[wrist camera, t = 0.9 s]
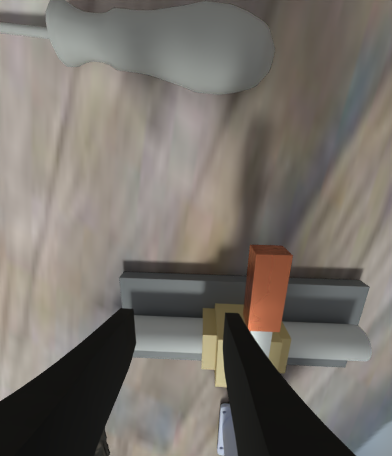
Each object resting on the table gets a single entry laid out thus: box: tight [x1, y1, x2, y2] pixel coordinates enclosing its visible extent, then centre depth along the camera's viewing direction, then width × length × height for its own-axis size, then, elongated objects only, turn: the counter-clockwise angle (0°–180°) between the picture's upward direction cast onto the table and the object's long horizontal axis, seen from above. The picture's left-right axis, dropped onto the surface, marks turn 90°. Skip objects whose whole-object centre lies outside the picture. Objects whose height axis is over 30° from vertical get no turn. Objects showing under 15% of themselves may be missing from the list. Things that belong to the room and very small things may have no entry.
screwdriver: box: [0, 0, 275, 95], centre depth 14 cm, size 5×25×4 cm, turn 81°
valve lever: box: [243, 245, 293, 358], centre depth 13 cm, size 12×3×2 cm, turn 179°
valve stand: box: [119, 272, 372, 387], centre depth 18 cm, size 10×24×6 cm, turn 89°
